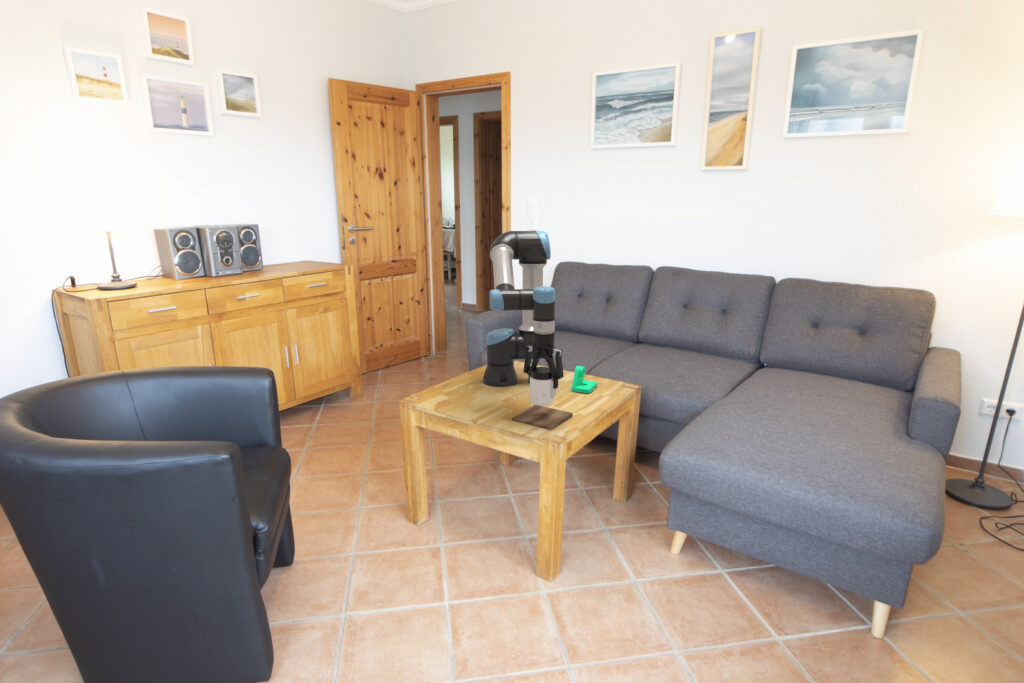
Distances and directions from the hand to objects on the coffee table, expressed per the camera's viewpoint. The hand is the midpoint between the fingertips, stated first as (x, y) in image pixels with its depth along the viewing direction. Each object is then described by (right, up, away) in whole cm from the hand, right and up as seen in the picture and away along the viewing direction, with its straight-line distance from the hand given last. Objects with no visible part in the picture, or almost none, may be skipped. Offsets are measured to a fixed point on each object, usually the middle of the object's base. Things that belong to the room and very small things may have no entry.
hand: (542, 394), depth 198 cm
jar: (0, -3, +1) cm, 3 cm away
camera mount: (+20, -2, +37) cm, 42 cm away
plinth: (0, -10, +3) cm, 10 cm away
